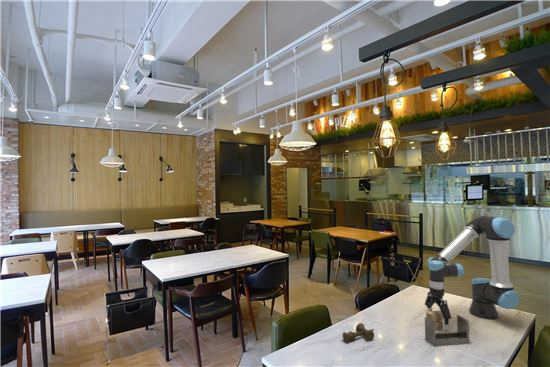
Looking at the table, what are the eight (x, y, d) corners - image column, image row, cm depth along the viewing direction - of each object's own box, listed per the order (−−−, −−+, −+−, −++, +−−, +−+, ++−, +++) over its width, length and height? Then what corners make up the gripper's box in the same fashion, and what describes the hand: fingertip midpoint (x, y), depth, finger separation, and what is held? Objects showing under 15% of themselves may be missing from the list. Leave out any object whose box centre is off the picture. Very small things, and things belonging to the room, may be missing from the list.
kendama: (339, 338, 161) (368, 330, 168) (350, 347, 152) (380, 339, 159) (339, 328, 161) (368, 320, 168) (349, 336, 152) (379, 328, 159)
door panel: (445, 327, 171) (444, 310, 171) (449, 329, 168) (448, 312, 168) (426, 328, 170) (426, 311, 170) (430, 331, 167) (429, 313, 167)
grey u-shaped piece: (459, 336, 160) (459, 314, 160) (469, 343, 153) (468, 320, 153) (425, 339, 158) (424, 317, 158) (433, 346, 151) (433, 323, 151)
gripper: (418, 281, 181) (418, 315, 181) (445, 295, 156) (446, 335, 156) (429, 280, 182) (429, 314, 182) (458, 295, 157) (459, 334, 157)
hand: (437, 324), depth 169 cm, fingers open, 13 cm apart
